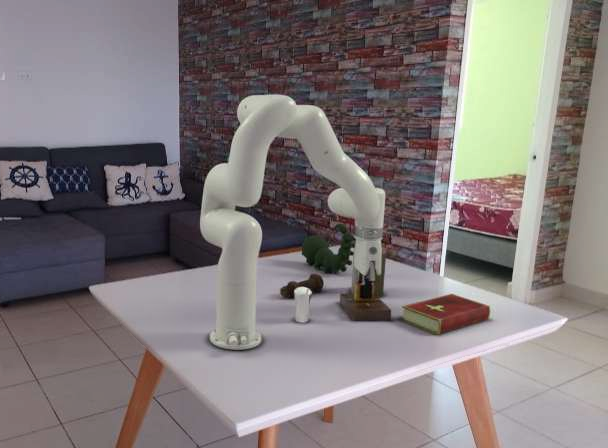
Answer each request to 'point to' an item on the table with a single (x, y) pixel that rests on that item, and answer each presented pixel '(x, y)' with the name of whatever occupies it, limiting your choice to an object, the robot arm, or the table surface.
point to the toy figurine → (328, 251)
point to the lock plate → (365, 308)
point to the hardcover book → (445, 313)
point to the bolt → (303, 285)
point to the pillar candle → (378, 279)
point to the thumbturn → (357, 293)
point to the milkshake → (302, 304)
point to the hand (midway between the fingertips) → (363, 296)
